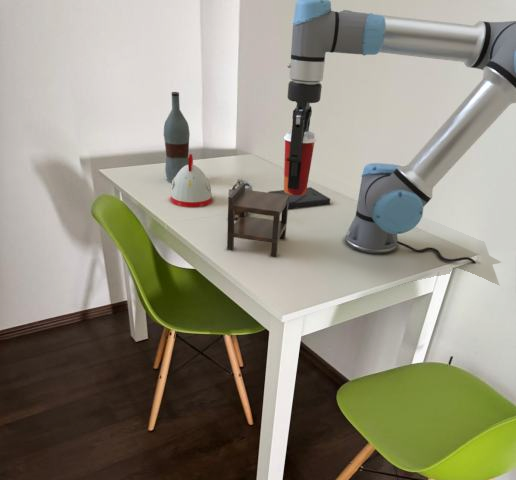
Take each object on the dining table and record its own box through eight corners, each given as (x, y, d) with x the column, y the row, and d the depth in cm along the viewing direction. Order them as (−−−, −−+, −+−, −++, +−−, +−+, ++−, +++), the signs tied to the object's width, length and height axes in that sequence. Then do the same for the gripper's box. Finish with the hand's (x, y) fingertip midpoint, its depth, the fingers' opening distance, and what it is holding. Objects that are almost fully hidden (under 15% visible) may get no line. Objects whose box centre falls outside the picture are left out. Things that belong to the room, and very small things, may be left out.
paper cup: (316, 192, 128) (323, 134, 120) (296, 199, 124) (302, 138, 116) (293, 185, 133) (298, 128, 125) (273, 190, 128) (277, 131, 120)
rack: (285, 238, 151) (289, 188, 143) (275, 257, 140) (280, 204, 131) (240, 231, 153) (241, 182, 145) (227, 249, 142) (228, 197, 134)
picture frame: (285, 209, 171) (329, 204, 178) (286, 203, 170) (330, 197, 177) (267, 196, 181) (310, 192, 188) (268, 190, 180) (310, 186, 187)
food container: (246, 223, 159) (248, 192, 153) (227, 221, 160) (228, 189, 154) (254, 210, 169) (256, 180, 163) (236, 208, 170) (237, 178, 164)
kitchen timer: (168, 206, 168) (166, 159, 159) (173, 192, 179) (171, 148, 171) (210, 207, 169) (211, 161, 160) (212, 194, 180) (212, 150, 171)
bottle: (179, 175, 197) (176, 89, 179) (195, 180, 192) (194, 93, 175) (160, 179, 191) (155, 91, 173) (177, 185, 186) (173, 95, 169)
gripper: (295, 75, 122) (287, 171, 135) (281, 85, 106) (273, 194, 120) (326, 77, 121) (315, 175, 134) (316, 89, 105) (304, 198, 118)
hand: (295, 183), depth 127 cm, fingers closed on paper cup, 7 cm apart
